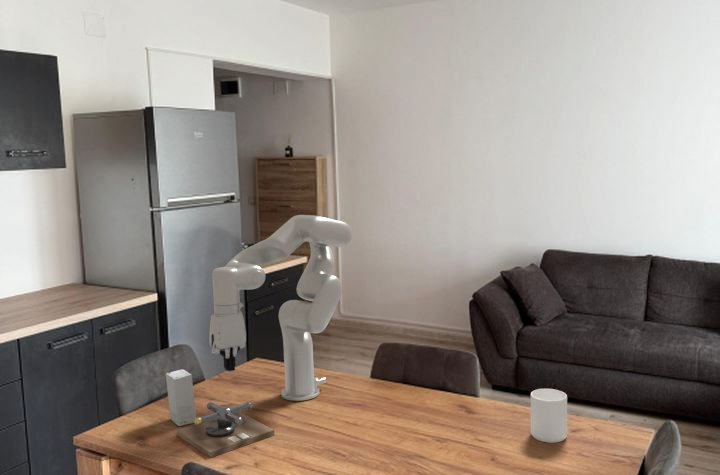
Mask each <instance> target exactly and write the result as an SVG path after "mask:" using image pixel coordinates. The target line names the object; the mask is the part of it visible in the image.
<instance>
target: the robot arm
mask: <svg viewBox="0 0 720 475" xmlns="http://www.w3.org/2000/svg"><path fill="white" fill-rule="evenodd" d="M352 231H353V230H352V229H351V227H350V225H349V224H348V223H346V222H345V221H341V220H336V219H332V218H329V217H324V216H320V215H313V214H312V215H311V214H308V215H307V214H299V215H298V214H297V215H294V216H292V217H291V218H289V219H288V220H287V221H286V222H285V223H283V225H281V227H279V228H278V229H277V230H276V231H275V232H273V233H272V234H271V235H270V236H269V237H268V238H266V239H263V240H260V241H259V242H257V243H255V244H253V245H250V246H249V247H247V248H245V249H243V250H241V251H240V252H239V253H237V254H235V256H234V257H232V258H231V259H230V260H229V261H228V262H227V264H225V266H221V267H216V268H214V269H213V270H212V290H213V291H212V292H213V314H211V317H210V322H209V324H210V325H209V336H208V337H209V339H208V340H209V346H210V347H211V354H214V355H220V356H221V357H222V358H223V367H224V370H225V371H227V372H232V371H235V370H236V368H235V367H236V357H237V355H238V353H239V351H240V350H242V349H245V347H246V346H247V345H246V342H247V332H246V324H245V318H244V315H243V314H244V313H243V311H242V310H241V309H242V308H243V307H244V303H243V302H241V300H240V298H241V297H240V296H241V295H240V291H243V290H245V291H246V290H255V289H259V288H260V287H262V286H263V284H264V283H265V281H266V272H265V270H264V269H263V267H262V266H263V265H264V266H265V265H269V264H273V263H278V262H280V261H284V260H287V258H288V257H289V256H290V255H291V254H293V253H294V252H295V250H296V249H298V248H299V247H300V246H302V244H303V243H305V242H307V243H309V248H310V257H309V259H308V262H307V264H306V267H305V268H304V270H303V273H302V274H301V276H300V279H299V280H298V281H297V286H296V294H297V295H298V297H300V298H301V299H303V300H307V301H303V300H298V299H290V300H287V301H285V302H283V304H282V305H281V306H280V308H279V311H278V321H279V325H280V329H281V334H282V343H283V360H284V361H283V363H284V379H285V380H284V382H285V388H283V389H282V390H281V395H280V396H281V398H282V399H284V400H287V401H291V402H292V401H295V402H300V401H302V402H303V401H308V400H311V399H314V398H316V397H318V396H319V394H320V388H319V386H320V385H322V384H325V383H327V379H326V377H320V378H319V377H317V376H316V377H315V371H314V370H315V368H314V348H313V338H312V335H311V334H320V333H322V332H324V330H325V329H326V328H327V326H328V324H329V323H330V322H331V318H332V317H333V315H334V312H335V310H336V308H337V306H338V304H339V303H340V302H339V301H340V299H341V298H342V297H341V296H342V292H343V285H342V282H341V280H340V279H339V277H337V276H336V275H333V274H332V272H333V269H334V267H335V257H334V254H333V250H332V248H344V247H346V246H348V245H349V243H350V242H351V240H352V237H353V232H352ZM331 247H332V248H331ZM309 301H311V302H309Z"/></svg>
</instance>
